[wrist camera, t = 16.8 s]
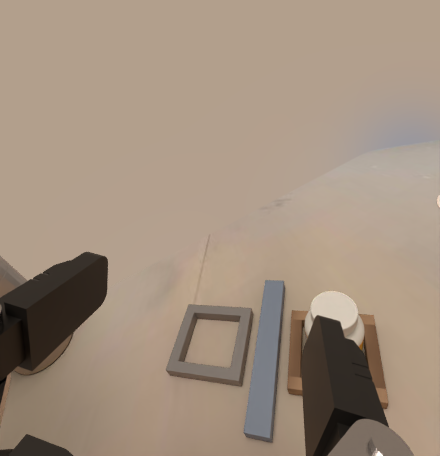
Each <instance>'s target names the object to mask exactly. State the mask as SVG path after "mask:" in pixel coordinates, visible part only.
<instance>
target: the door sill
mask: <svg viewBox="0 0 440 456" xmlns="http://www.w3.org/2000/svg"><path fill="white" fill-rule="evenodd" d="M284 292H285V286H284V281H271V280H265V286H264V293H263V300H262V307H261V314H260V321H259V328H258V335H257V342H256V349H255V356H254V363H253V370H252V377H251V384H250V391H249V398H248V405H247V412H246V419H245V426H244V434H245V435H246V437H249V438H254V439H258V440H263V441H268V442H272V438H273V426H274V414H275V402H276V389H277V377H278V365H279V353H280V341H281V328H282V316H283V304H284Z"/></svg>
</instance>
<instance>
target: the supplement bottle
mask: <svg viewBox="0 0 440 456" xmlns="http://www.w3.org/2000/svg"><path fill="white" fill-rule="evenodd" d="M317 315H320V316H323V317H327V318H331V319H334V320H338V321H340V322H341V326H342V329H343V333H344V337H345V338H347V339H351V340H354V341H355V343H356V344H357V345H358V347H359V348H360V349H361V350H362V347H363V341H364V333H365V331H364V324H363V321H362V319H361V317H360V316H359V314H358V309H357V306H356V304H355V302H354V301H353V300H352V299H351V298H350V297H349V296H347V295H345V294H343V293H341V292H337V291H326V292H323V293H320V294H319V295H317V296H316V297H315V298H314V299H313V301H312V303H311V307H310V310H309V312H308V313H307V315H306V318H305V335H306V341H307V338H308V335H309V333H310V330H311V327H312V324H313V321H314V319H315V317H316V316H317Z"/></svg>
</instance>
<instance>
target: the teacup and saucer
mask: <svg viewBox="0 0 440 456" xmlns="http://www.w3.org/2000/svg"><path fill="white" fill-rule="evenodd" d="M437 205H438V206H439V208H440V195H439V196H438V198H437Z"/></svg>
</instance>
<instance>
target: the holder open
mask: <svg viewBox="0 0 440 456" xmlns="http://www.w3.org/2000/svg"><path fill="white" fill-rule="evenodd" d="M197 318H198V319H212V320H225V321H238V322H239V327H238V332H237V337H236V342H235V347H234V352H233V357H232V362H231V368H225V367H218V366H210V365H203V364H196V363H188V362H184V359H185V356H186V353H187V350H188V346H189V343H190V340H191V337H192V334H193V331H194V327H195V324H196V321H197ZM252 320H253V312H252V309H251V308H242V307H225V306H207V305H190V304H189V305H188V308H187V310H186V313H185V316H184V319H183V322H182V325H181V328H180V330H179V333H178V336H177V339H176V342H175V345H174V348H173V350H172V353H171V356H170V359H169V362H168V365H167V368H166V371H167V372H168V373H169V374H170V375H172V376H178V377H184V378H191V379H197V380H204V381H210V382H217V383H223V384H230V385H236V386H242V381H243V375H244V369H245V363H246V357H247V350H248V344H249V338H250V332H251V326H252Z"/></svg>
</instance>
